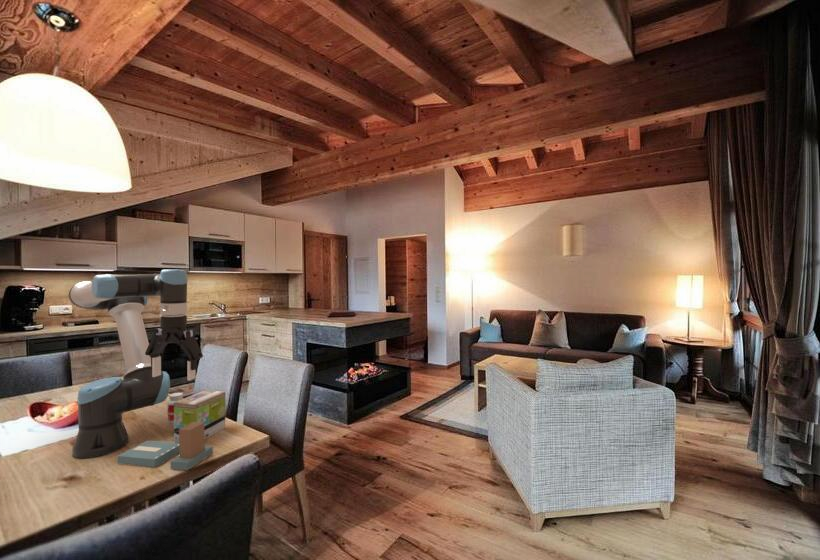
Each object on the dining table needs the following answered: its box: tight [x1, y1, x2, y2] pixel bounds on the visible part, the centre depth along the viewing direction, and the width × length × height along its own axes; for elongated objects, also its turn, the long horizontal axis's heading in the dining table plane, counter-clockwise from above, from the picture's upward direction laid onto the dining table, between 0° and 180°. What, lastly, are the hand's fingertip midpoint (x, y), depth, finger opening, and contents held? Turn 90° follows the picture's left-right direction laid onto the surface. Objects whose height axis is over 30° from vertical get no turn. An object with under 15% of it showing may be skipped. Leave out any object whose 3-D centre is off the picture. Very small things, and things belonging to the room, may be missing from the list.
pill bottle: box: [166, 392, 185, 424], centre depth 152 cm, size 6×6×11 cm
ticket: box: [116, 439, 180, 468], centre depth 122 cm, size 14×11×3 cm
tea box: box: [173, 389, 226, 443], centre depth 138 cm, size 15×10×15 cm
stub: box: [169, 422, 214, 471], centre depth 119 cm, size 6×11×11 cm, turn 169°
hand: (173, 377), depth 124 cm, fingers open, 13 cm apart
